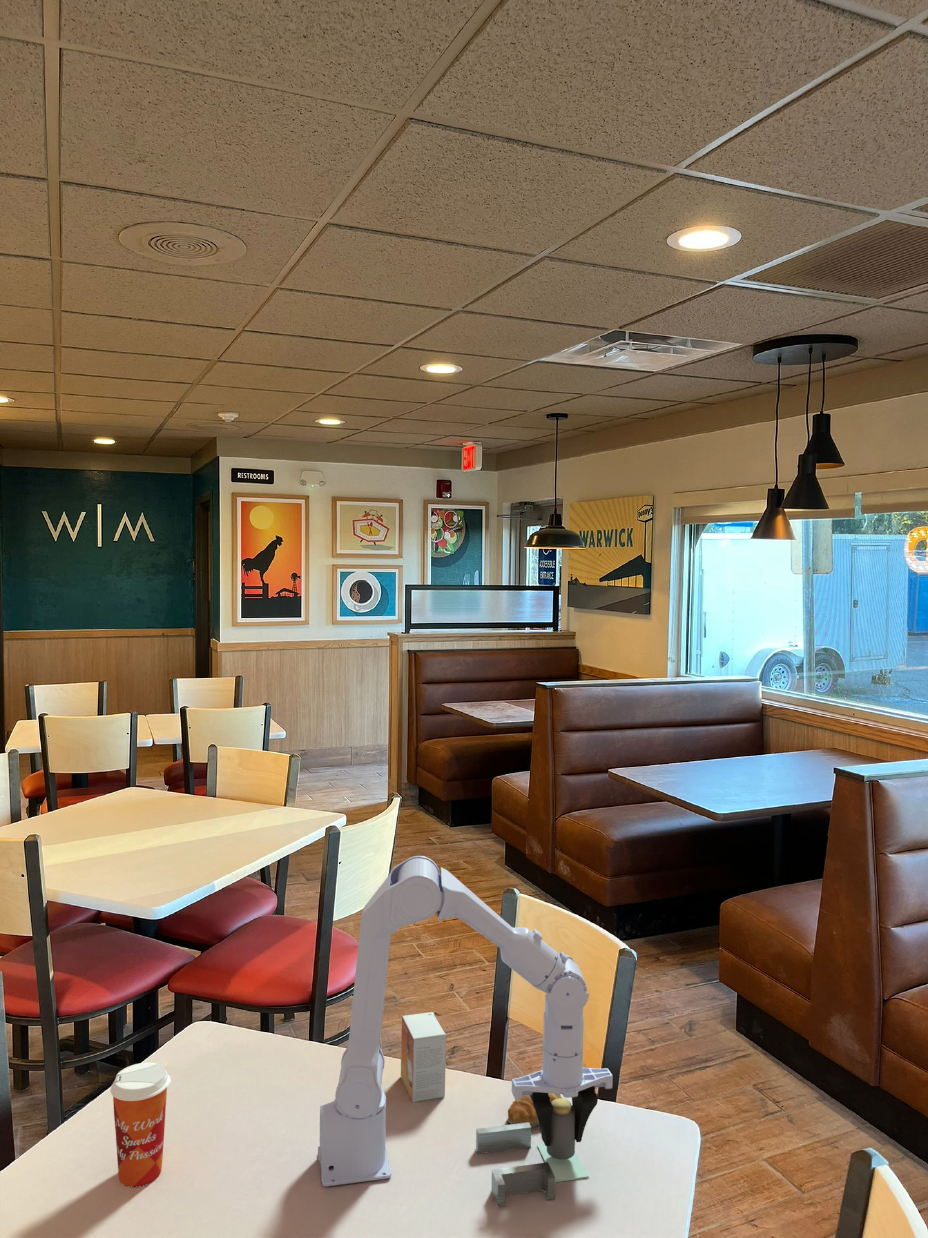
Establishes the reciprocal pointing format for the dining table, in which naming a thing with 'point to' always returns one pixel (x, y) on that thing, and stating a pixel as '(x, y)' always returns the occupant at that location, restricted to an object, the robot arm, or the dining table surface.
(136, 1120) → the paper cup
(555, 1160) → the mat
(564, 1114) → the grey canister
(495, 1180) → the metal brackets
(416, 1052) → the small box
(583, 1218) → the dining table surface
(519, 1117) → the pastry
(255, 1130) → the dining table surface
